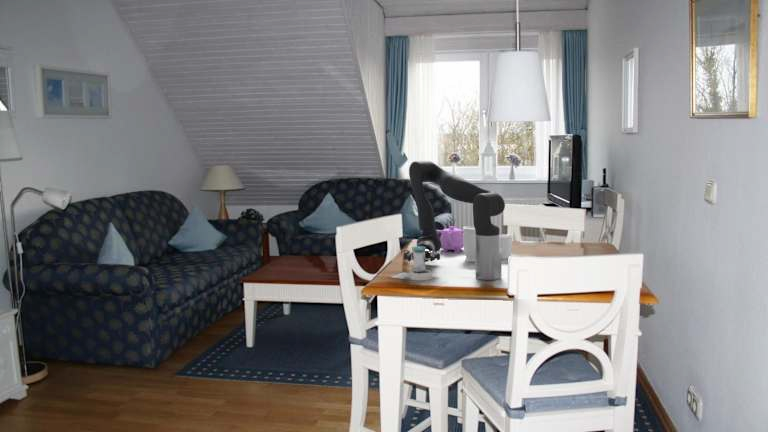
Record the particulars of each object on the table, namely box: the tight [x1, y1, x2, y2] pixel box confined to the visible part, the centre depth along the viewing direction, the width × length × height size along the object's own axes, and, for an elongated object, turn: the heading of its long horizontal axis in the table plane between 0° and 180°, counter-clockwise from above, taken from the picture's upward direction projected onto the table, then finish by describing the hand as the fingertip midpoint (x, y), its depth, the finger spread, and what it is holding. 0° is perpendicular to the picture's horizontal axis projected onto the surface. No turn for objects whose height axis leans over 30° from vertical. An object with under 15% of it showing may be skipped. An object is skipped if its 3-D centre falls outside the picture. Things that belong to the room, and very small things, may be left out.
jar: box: [462, 225, 476, 263], centre depth 303 cm, size 11×10×15 cm
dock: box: [390, 269, 438, 283], centre depth 269 cm, size 16×10×4 cm, turn 55°
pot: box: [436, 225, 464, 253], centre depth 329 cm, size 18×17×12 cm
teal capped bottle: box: [411, 245, 426, 273], centre depth 266 cm, size 5×5×12 cm
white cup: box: [499, 233, 513, 260], centre depth 309 cm, size 8×8×10 cm
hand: (420, 258), depth 266 cm, fingers open, 8 cm apart
